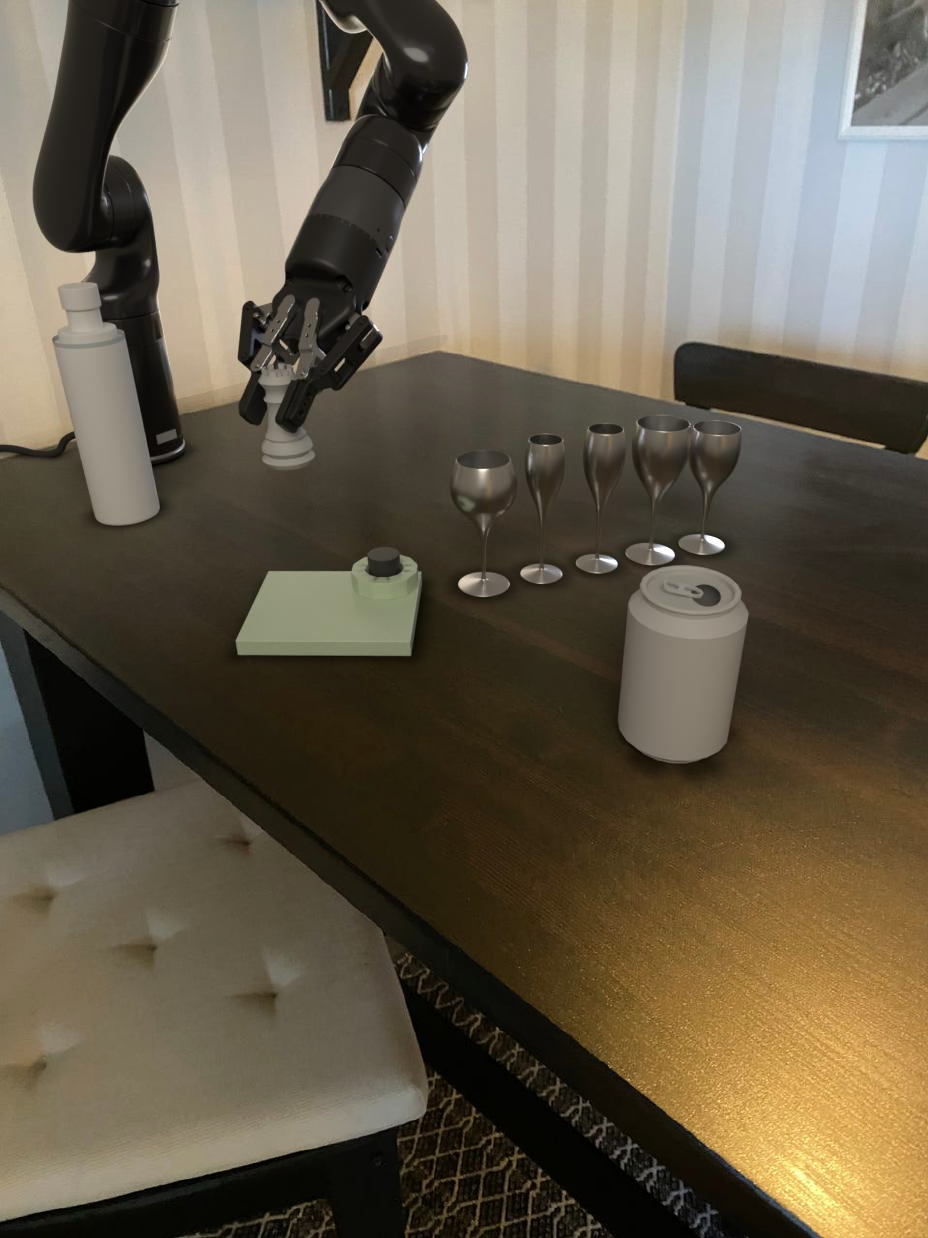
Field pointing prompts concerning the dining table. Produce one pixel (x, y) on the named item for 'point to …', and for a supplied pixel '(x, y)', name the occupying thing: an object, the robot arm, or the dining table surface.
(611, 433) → the goblet set
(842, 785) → the dining table surface
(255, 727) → the dining table surface
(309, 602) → the scale
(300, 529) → the dining table surface
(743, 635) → the can
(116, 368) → the grey bottle
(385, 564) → the button
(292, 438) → the rook chess piece
